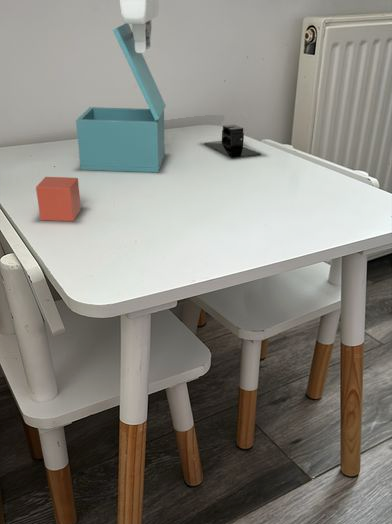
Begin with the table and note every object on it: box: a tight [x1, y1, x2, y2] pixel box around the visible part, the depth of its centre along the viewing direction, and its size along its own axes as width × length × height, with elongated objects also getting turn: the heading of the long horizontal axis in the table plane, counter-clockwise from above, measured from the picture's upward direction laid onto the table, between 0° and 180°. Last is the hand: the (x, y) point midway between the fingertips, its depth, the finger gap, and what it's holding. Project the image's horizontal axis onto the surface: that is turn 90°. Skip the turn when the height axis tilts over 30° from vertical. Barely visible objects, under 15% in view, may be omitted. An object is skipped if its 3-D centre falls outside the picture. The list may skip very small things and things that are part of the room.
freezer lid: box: [112, 22, 166, 121], centre depth 99 cm, size 15×12×5 cm
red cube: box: [35, 176, 82, 222], centre depth 84 cm, size 5×5×5 cm
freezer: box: [75, 106, 166, 173], centre depth 106 cm, size 15×12×9 cm
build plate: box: [204, 124, 262, 160], centre depth 117 cm, size 12×7×5 cm, turn 26°
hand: (143, 50), depth 98 cm, fingers open, 5 cm apart
